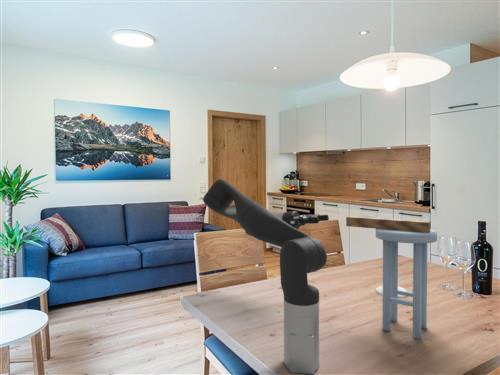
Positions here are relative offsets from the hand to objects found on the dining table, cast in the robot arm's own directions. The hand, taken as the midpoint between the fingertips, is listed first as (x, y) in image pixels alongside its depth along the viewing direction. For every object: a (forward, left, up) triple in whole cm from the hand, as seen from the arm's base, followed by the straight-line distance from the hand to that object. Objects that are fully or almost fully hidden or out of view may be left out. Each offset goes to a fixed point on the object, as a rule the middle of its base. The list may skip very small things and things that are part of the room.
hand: (323, 218), depth 127 cm
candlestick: (+21, -31, -34) cm, 50 cm away
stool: (-14, -25, -34) cm, 44 cm away
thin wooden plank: (-11, -19, -2) cm, 22 cm away
